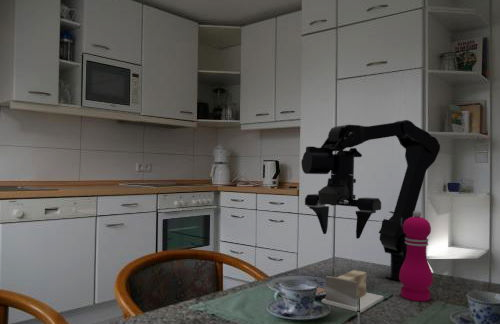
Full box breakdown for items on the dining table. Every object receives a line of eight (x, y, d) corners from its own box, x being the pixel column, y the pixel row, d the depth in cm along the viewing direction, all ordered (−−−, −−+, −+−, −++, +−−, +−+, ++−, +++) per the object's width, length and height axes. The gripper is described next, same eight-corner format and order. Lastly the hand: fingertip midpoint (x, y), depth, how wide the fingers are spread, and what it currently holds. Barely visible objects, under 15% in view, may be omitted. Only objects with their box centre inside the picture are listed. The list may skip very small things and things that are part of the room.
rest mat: (346, 290, 98) (346, 288, 98) (383, 298, 93) (383, 296, 93) (321, 302, 89) (321, 299, 89) (360, 312, 83) (361, 309, 83)
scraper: (345, 289, 97) (346, 268, 97) (374, 296, 92) (374, 273, 93) (325, 299, 89) (325, 276, 89) (355, 307, 85) (356, 282, 85)
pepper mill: (417, 304, 90) (419, 212, 90) (391, 294, 96) (393, 208, 96) (439, 299, 93) (441, 211, 93) (413, 290, 99) (415, 208, 100)
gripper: (293, 173, 104) (292, 235, 104) (363, 175, 93) (362, 245, 92) (316, 173, 113) (314, 230, 113) (382, 175, 101) (381, 239, 101)
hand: (340, 236), depth 105 cm, fingers open, 9 cm apart
